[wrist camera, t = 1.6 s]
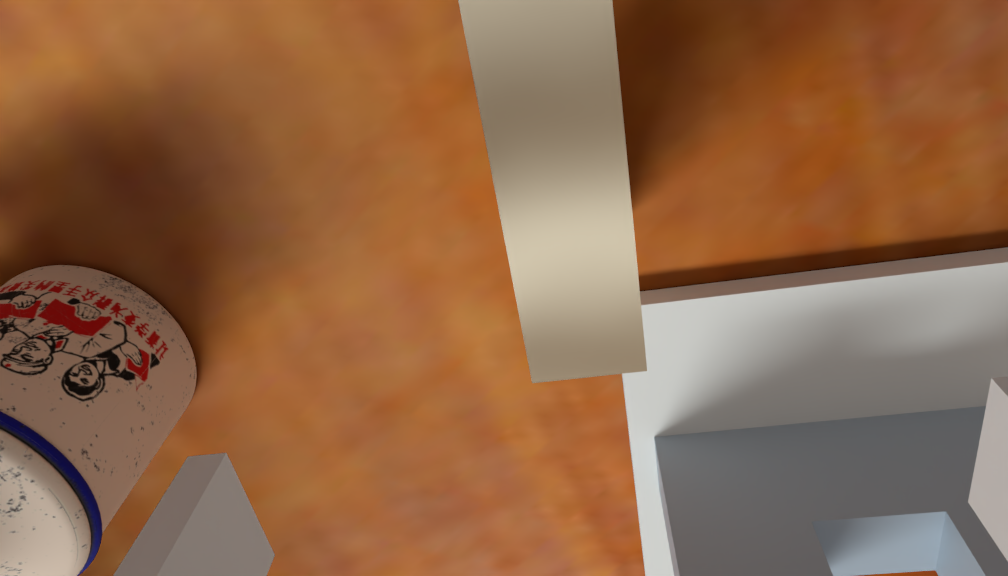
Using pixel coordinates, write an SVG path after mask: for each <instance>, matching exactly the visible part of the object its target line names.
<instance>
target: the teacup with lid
mask: <svg viewBox="0 0 1008 576" xmlns="http://www.w3.org/2000/svg"><path fill="white" fill-rule="evenodd" d="M196 378H197V372H196V363H195V358H194V354H193V351H192V348H191V346H190V343H189V341H188V339H187V337H186V335H185V334H184V332H183V331H182V329H181V327H180V326H179V324H178V323H177V322H176V321H175V319H174V318H173V317H172V316H171V315H170V313H169V312H168V311H167V310H166V309H165V308H164V307H163V306H162V305H161V304H160V303H158V302H157V301H156V300H155V299H154V298H152V297H151V296H150V295H148V294H147V293H145V292H144V291H143V290H141V289H139V288H138V287H136V286H135V285H133V284H131V283H129V282H127V281H125V280H123V279H121V278H119V277H116V276H114V275H112V274H109V273H106V272H103V271H99V270H96V269H92V268H87V267H81V266H73V265H52V266H44V267H39V268H35V269H31V270H28V271H26V272H23V273H21V274H19V275H17V276H15V277H14V278H12V279H10V280H9V281H8V282H6V283H5V284H4V285H2V286H1V287H0V576H78V575H80V574H81V573H82V572H83V571H84V570H85V569H86V568H87V567H88V566H89V565H90V564H91V562H92V561H93V560H94V558H95V556H96V554H97V552H98V550H99V547H100V544H101V538H102V533H103V531H104V530H105V529H106V527H107V526H108V524H109V523H110V521H111V520H112V518H113V517H114V515H115V514H116V512H117V511H118V509H119V508H120V506H121V505H122V503H123V502H124V500H125V499H126V497H127V496H128V494H129V493H130V491H131V490H132V488H133V487H134V485H135V484H136V482H137V481H138V480H139V478H140V477H141V475H142V474H143V472H144V471H145V469H146V468H147V466H148V465H149V463H150V462H151V460H152V459H153V457H154V456H155V454H156V453H157V451H158V450H159V448H160V447H161V445H162V444H163V442H164V441H165V439H166V438H167V436H168V435H169V433H170V432H171V431H172V429H173V428H174V426H175V425H176V423H177V422H178V420H179V419H180V417H181V416H182V414H183V413H184V411H185V410H186V408H187V407H188V405H189V403H190V401H191V399H192V397H193V394H194V391H195V387H196Z"/></svg>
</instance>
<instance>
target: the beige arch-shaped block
mask: <svg viewBox="0 0 1008 576" xmlns="http://www.w3.org/2000/svg"><path fill="white" fill-rule="evenodd" d="M458 1H459V6H460V12H461V17H462V22H463V27H464V32H465V37H466V43H467V48H468V53H469V58H470V63H471V68H472V74H473V79H474V84H475V89H476V94H477V100H478V105H479V110H480V115H481V120H482V125H483V131H484V136H485V141H486V146H487V151H488V156H489V162H490V167H491V172H492V177H493V182H494V188H495V193H496V198H497V203H498V208H499V213H500V219H501V224H502V229H503V234H504V239H505V245H506V250H507V255H508V260H509V265H510V270H511V276H512V281H513V286H514V291H515V296H516V301H517V307H518V312H519V317H520V322H521V327H522V333H523V338H524V343H525V348H526V353H527V358H528V364H529V369H530V374H531V379H532V383H538V382H548V381H557V380H567V379H576V378H586V377H595V376H604V375H614V374H623V373H633V372H642V371H647V363H646V353H645V342H644V331H643V321H642V310H641V300H640V289H639V278H638V268H637V257H636V247H635V236H634V225H633V215H632V204H631V193H630V183H629V172H628V162H627V151H626V140H625V130H624V119H623V109H622V98H621V87H620V77H619V66H618V56H617V45H616V34H615V24H614V13H613V2H612V0H458Z"/></svg>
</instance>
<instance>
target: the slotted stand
mask: <svg viewBox="0 0 1008 576" xmlns="http://www.w3.org/2000/svg"><path fill="white" fill-rule="evenodd" d="M640 300H641V310H642V321H643V331H644V342H645V353H646V363H647V371H642V372H633V373H623V374H622V379H623V387H624V396H625V405H626V413H627V422H628V430H629V439H630V448H631V456H632V465H633V474H634V482H635V491H636V500H637V508H638V517H639V525H640V534H641V543H642V551H643V560H644V569H645V576H854V575H869V574H884V573H900V572H915V571H930V570H936V572H937V574H938V576H1008V561H1007V560H1006V558H1005V557H1004V555H1003V554H1002V552H1001V551H1000V549H999V548H998V546H997V545H996V543H995V542H994V540H993V539H992V537H991V536H990V534H989V533H988V531H987V530H986V528H985V527H984V525H983V524H982V522H981V521H980V519H979V518H978V516H977V515H976V513H975V512H974V510H973V509H972V507H971V506H970V504H969V503H968V499H969V494H970V488H971V483H972V478H973V472H974V467H975V462H976V457H977V451H978V446H979V441H980V436H981V430H982V425H983V420H984V415H985V409H986V404H987V399H988V393H989V388H990V383H991V378H997V377H1007V376H1008V247H1006V248H998V249H989V250H981V251H973V252H965V253H956V254H948V255H940V256H931V257H923V258H915V259H906V260H898V261H890V262H881V263H873V264H865V265H856V266H848V267H840V268H831V269H823V270H815V271H807V272H798V273H790V274H782V275H773V276H765V277H757V278H748V279H740V280H732V281H723V282H715V283H707V284H698V285H690V286H682V287H674V288H665V289H657V290H649V291H640Z"/></svg>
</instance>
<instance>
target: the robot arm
mask: <svg viewBox="0 0 1008 576" xmlns="http://www.w3.org/2000/svg"><path fill="white" fill-rule="evenodd" d="M968 503H969V504H970V506H971V507H972V509H973V510H974V512H975V513H976V515H977V516H978V518H979V519H980V521H981V522H982V524H983V525H984V527H985V528H986V530H987V531H988V533H989V534H990V536H991V537H992V539H993V540H994V542H995V543H996V545H997V546H998V548H999V549H1000V551H1001V552H1002V554H1003V555H1004V557H1005V558H1006V560H1007V561H1008V376H1007V377H997V378H991V383H990V388H989V393H988V399H987V404H986V409H985V415H984V420H983V425H982V430H981V436H980V441H979V446H978V451H977V457H976V462H975V467H974V472H973V478H972V483H971V488H970V494H969V499H968ZM274 556H275V555H274V552H273V550H272V548H271V546H270V544H269V542H268V540H267V538H266V536H265V533H264V531H263V529H262V527H261V525H260V523H259V521H258V519H257V516H256V514H255V512H254V510H253V508H252V506H251V504H250V502H249V500H248V497H247V495H246V493H245V491H244V489H243V487H242V485H241V483H240V481H239V478H238V476H237V474H236V472H235V470H234V468H233V466H232V464H231V462H230V459H229V457H228V455H227V453H220V454H210V455H199V456H189V457H187V459H186V460H185V462H184V464H183V465H182V467H181V468H180V470H179V472H178V473H177V475H176V476H175V478H174V480H173V481H172V483H171V484H170V486H169V488H168V489H167V491H166V492H165V494H164V496H163V497H162V499H161V500H160V502H159V503H158V505H157V507H156V508H155V510H154V511H153V513H152V515H151V516H150V518H149V519H148V521H147V523H146V524H145V526H144V527H143V529H142V531H141V532H140V534H139V535H138V537H137V539H136V540H135V542H134V543H133V545H132V547H131V548H130V550H129V551H128V553H127V554H126V556H125V558H124V559H123V561H122V562H121V564H120V566H119V567H118V569H117V570H116V572H115V574H114V575H113V576H267V573H268V571H269V568H270V566H271V563H272V561H273V558H274Z"/></svg>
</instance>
